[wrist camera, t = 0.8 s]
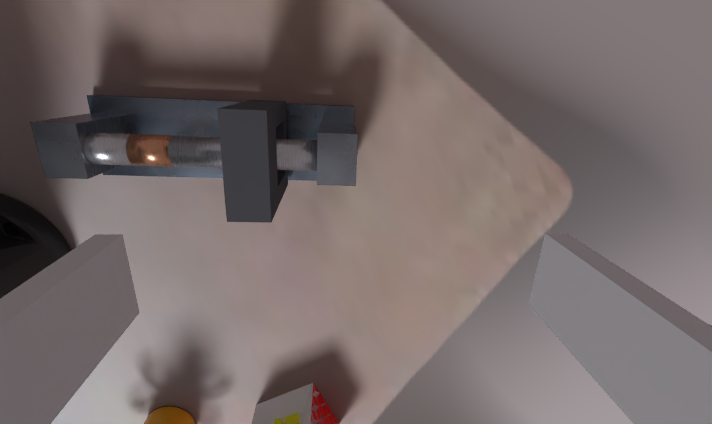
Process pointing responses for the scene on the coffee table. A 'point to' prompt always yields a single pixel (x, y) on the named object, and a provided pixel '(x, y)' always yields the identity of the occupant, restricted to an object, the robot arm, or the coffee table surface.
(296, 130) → the rail
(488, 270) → the coffee table surface
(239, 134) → the dark gray notched block
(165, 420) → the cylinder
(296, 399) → the red gray cube
